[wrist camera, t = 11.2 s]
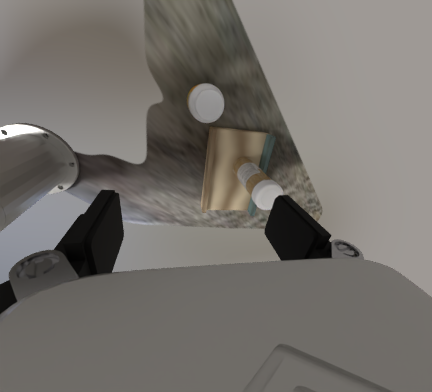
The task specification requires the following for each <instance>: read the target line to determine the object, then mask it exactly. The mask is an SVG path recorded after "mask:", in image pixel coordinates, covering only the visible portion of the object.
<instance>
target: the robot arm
mask: <svg viewBox="0 0 432 392" xmlns="http://www.w3.org/2000/svg"><path fill="white" fill-rule="evenodd" d="M47 134H48V135H47ZM73 163H74V164H73ZM78 175H79V162H78V159H77V156H76V154H75V153H74V151H73V150H72V148H71V147H70V146H69V145H68V144H67V143H66V142H65V141H64V140H63V139H62V138H61V137H59V136H58V135H56V134H55V133H53V132H52V131H50V130H47V129H45V128H43V127H40V126H37V125H33V124H27V123H16V124H10V125H6V126H2V127H0V231H2V230H3V229H4V228H6V227H7V226H8V225H9V224H10V223H11V222H13V221H14V220H15V219H16V218H18V217H19V216H20V215H21V214H22V213H24V212H25V211H26V210H27V209H29V208H30V207H31V206H32V205H34V204H35V203H36V202H37V201H39V200H40V199H41V198H42V197H44V196H45V195H46V194H55V193H59V192H62V191H64V190H66V189H68V188H69V187H71V186H72V185H73V184H74V183H75V181H76V180H77V178H78ZM265 235H266V237H267V238H268V240H269V241H270V243H271V245H272V246H273V248H274V249H275V251H276V253H277V254H278V256H279V258H280V259H281V261H269V262H253V263H237V264H222V265H206V266H191V267H176V268H161V269H147V270H133V271H123V272H114V273H112V270H113V267H114V264H115V261H116V258H117V255H118V253H119V250H120V247H121V244H122V241H123V237H124V230H123V222H122V214H121V206H120V198H119V193H115V191H114V190H101V191H100V193H99V194H98V195H97V197H96V198H95V200H94V201H93V202H92V204H91V205H90V207H89V208H88V209H87V211H86V212H85V213H84V214H81V215H80V216H79V217H78V218H77V219H76V221H75V222H74V223H73V225H72V226H71V227H70V229H69V230H68V231H67V233H66V234H65V236H64V237H63V238H62V239H61V241H60V242H59V243H58V245H57V246H56V247H55V249H54V250H45V251H40V252H36V253H34V254H31V255H29V256H27V257H25V258H23V259H22V260H20V261H19V262H17V263H16V264H15V265H14V266H13V267H12V268H11V270H10V272H9V281H6V282H4V283H2V284H0V392H432V297H431V296H429V295H428V294H427V293H425V292H424V291H423V290H422V289H420V288H419V287H418V286H416V285H415V284H414V283H413V282H411V281H410V280H409V279H407V278H406V277H405V276H403V275H402V274H400V273H399V272H397V271H396V270H394V269H392V268H390V267H388V266H385V265H383V264H380V263H376V262H373V261H368V260H364V257H363V254H362V252H361V251H360V250H359V249H358V248H357V247H355V246H354V245H352V244H350V243H348V242H346V241H343V240H333V241H332V242H330V241H329V239H330V237H331V235H330V234H329V233H328V232H327V231H326V230H325V229H324V228H323V227H322V226H321V225H320V224H319V223H317V222H316V221H315V220H314V219H313V218H312V217H311V216H310V215H309V214H308V213H307V212H306V211H305V210H303V209H302V208H301V207H300V206H299V205H298V204H297V203H296V202H295V201H294V200H293V199H292V198H290V197H289V196H288V195H279V196H278V197H276V198H275V200H274V203H273V206H272V209H271V212H270V215H269V218H268V221H267V224H266V227H265Z"/></svg>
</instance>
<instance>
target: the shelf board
mask: <svg viewBox="0 0 432 392" xmlns="http://www.w3.org/2000/svg"><path fill="white" fill-rule="evenodd" d="M275 139H276V137H275V136H272V135H270V134H268V133H265V132H257V131H248V130H239V129H230V128H221V127H213V126H210V128H209V137H208V146H207V155H206V164H205V173H204V182H203V191H202V200H201V208H202V212H203V213H206V210H248V212H249V214H250V215H251V216H254V214H255V211H256V207H257V205H256V204H255V203H254V201H253V200H252V197H251V195H250V194H249V193H248V192H247V190H246V189H245V188H244V186H243V185H242V183H241V182H240V181H239V179H238V177H237V176H236V175H235V174H234V172H233V165H234V163H235V162H236V161H237V160H238V159H239V158H242V157H247V158H249V159H251V160H252V162H253V163H254V164H256V165H257V166H258V167H259V168H260V169H261V170H262V171H263V172H264V173H265V174H266V171H267V168H268V164H269V161H270V157H271V154H272V150H273V146H274V143H275Z"/></svg>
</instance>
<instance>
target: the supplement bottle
mask: <svg viewBox="0 0 432 392" xmlns="http://www.w3.org/2000/svg"><path fill="white" fill-rule="evenodd" d="M187 106H188V109H189V111H190V112H191V114H192V115H193V117H194V118H195V119H197V120H198V121H200V122H202V123H211V122H214V121H216V120H217V119H218V118H219V117H220V116H221V115H222V113H223V110H224V98H223V95H222V93H221V91H220V90H219V89H218V88H217V87H216V86H214V85H212V84H209V83H204V84H199V85H196V86H194V87H193V88H192V89H191V90H190V91H189V93H188V96H187Z"/></svg>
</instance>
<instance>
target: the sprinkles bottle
mask: <svg viewBox="0 0 432 392" xmlns="http://www.w3.org/2000/svg"><path fill="white" fill-rule="evenodd" d="M233 172H234V174H235V175H236V176H237V177H238V179H239V181H240V182H241V183H242V185H243V186H244V188H245V189H246V190H247V192H248V193H249V194H250V195H251V197H252V200H253V201H254V203H255V204H256V205H257V207H258V208H260V209H262V210H270V209H272V206H273V203H274V200H275V198H276V197H278V196H279V195H283V190H282V188H281V187H280V186H279V185H278V184H277V183H276V182H275V181H273V180H271V179H270V178H269V177H268V176H267V175H266V174H265V173H264V172H263V171H262V170H261V169H260V168H259V167H258V166H257V165H256V164H254V163H253V162H252V160H251V159H249V158H247V157H242V158H239V159H238V160H237V161H236V162H235V163H234V165H233Z"/></svg>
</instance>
